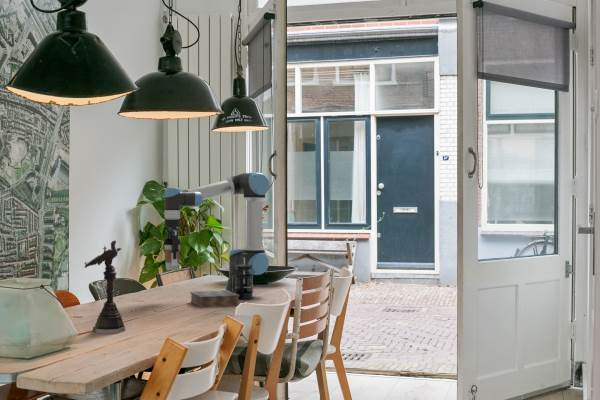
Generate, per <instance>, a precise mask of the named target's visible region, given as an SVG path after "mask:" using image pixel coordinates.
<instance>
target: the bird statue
mask: <svg viewBox="0 0 600 400" xmlns="http://www.w3.org/2000/svg"><path fill="white" fill-rule="evenodd" d="M116 243H117V241H116V240H112V241H111V243H110V248H109V249H107V247H106V245H103V248H102V249H103V253H101V254H98V255H97V256H96V257H94V258H93V259H91V260H90V261H85V262H84V268H85V269H86V268H87V267H91V266H96V265H98V267H99V266H100V265H101V264H102V263H103V262H104V266H105V268H104V271H103V272H102V273H103V275H104V277H103V279H104V280H106V290H105V292H106V301H105V302H104V303H103V307H102V308H101V311H100V313H99V314H98V315H97V319H96V322H95V324H94V325H95V326H93V327H92V332H93V333H95V334H104V335H109V334H110V335H111V334H119V333H123V332H126V326H125V324H124V323H125V322H124V321H123V315H122V314H121V312H119V309H118V307H117V303H116V302H115V301H114V292H115V290H114V281H115V280H116V279H117V274H118V272H117V271H116V267H115V266H114V265H112V264H113V260H114V259H115V258H116V257H118V253H119V251H121V250H122V247H116Z"/></svg>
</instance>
